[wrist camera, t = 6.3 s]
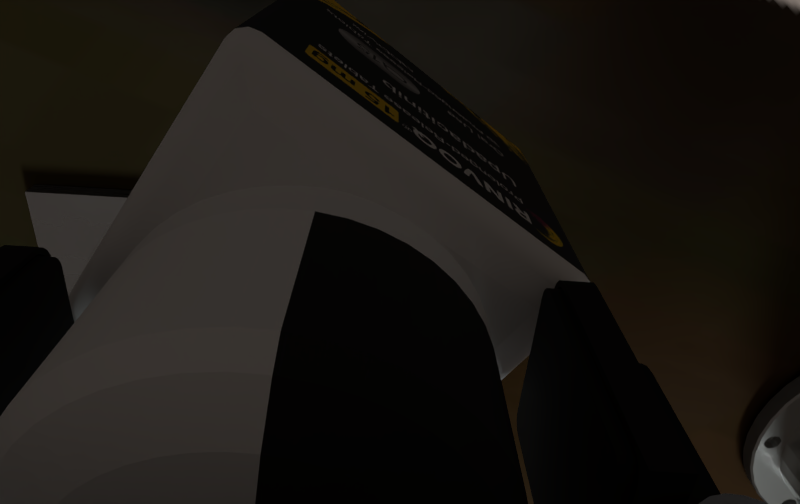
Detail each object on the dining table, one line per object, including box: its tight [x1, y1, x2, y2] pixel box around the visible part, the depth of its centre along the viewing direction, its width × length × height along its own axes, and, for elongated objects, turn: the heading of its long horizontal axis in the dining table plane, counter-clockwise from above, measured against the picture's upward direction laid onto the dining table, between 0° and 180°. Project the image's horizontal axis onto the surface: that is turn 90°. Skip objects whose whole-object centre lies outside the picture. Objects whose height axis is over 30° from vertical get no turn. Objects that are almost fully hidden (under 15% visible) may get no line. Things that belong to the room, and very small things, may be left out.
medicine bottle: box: [0, 0, 590, 504], centre depth 11 cm, size 7×7×12 cm
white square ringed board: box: [25, 185, 132, 295], centre depth 29 cm, size 16×16×2 cm
